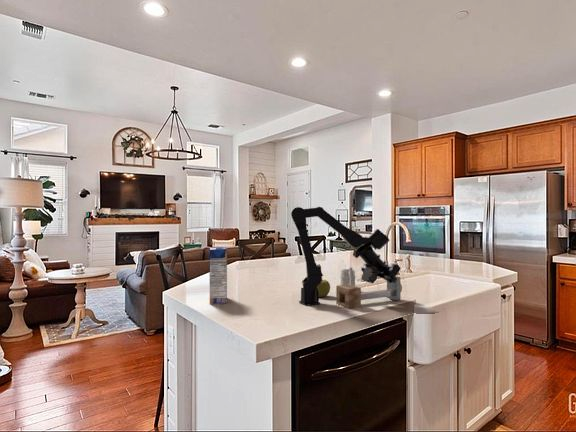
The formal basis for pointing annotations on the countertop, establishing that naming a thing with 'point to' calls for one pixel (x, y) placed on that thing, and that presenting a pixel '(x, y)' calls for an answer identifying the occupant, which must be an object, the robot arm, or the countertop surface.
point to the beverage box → (218, 275)
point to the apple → (323, 288)
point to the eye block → (348, 296)
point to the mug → (348, 277)
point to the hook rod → (386, 291)
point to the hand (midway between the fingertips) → (391, 282)
